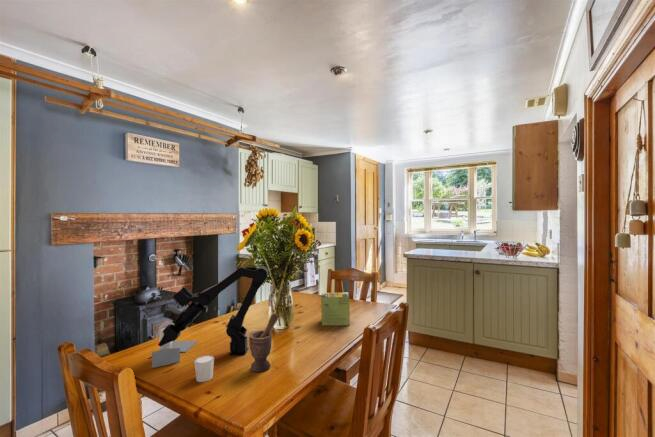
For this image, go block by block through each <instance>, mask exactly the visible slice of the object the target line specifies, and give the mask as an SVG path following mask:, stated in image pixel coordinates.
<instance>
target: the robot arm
mask: <svg viewBox="0 0 655 437" xmlns="http://www.w3.org/2000/svg"><path fill="white" fill-rule="evenodd" d="M268 276H269V270H268V268H267V267H265V266H262V265H261V266H258V267H255V266H253V267H252V266H244V265H241V266H240V267H237V269H235V271H233V272H232V273H230V274H229V275H228V276H226V277H225V278H224V279H222V280H220V281H219V282H218V283H217V284H215V285H213V286H210V287H208V288H206V289H204V290H202V291H201V292H195V293H193V292H192V291H190V290H189V288H188V287H187V286H185V285H184V286H183V287H182V288H181V289H180V290H178V291H177V292H176V293H175V294H174V295H172V297H171V298H172V300H173V301H174V302H175V303H177V305H179V306H180V307H185V309H183V310H182V311H181V310H179V309H176V308H173V307H171V306H170V307H169V306H168V307H167V308H166V309H165V310H164V312H163V315H162V317H163V318H165V319H169V320H171V324H168V325H167V326H166V327H164V328H165V329H164V330H163V333H164V336H163V338H162V339H161V341H160V340H159V343H158V344H157V345H158V346H159V347H160V346H162V345H164V344H167V343H169V342H173V341H177V339H178V338H179V337H180V336H181V332H183V331H184V330H185V329H186V328H188V326H190V324H191V323H192V322H194V320H195V319H196V318H197V317H198V316H199V315H200V314H201V313H203V314H204V315H205V314H206V313H208V311H209V309H208V307H209V305H210V304H211V303H212V302H213V301H214V300H215V298H216V297H217V296H219V294H220V293H221V292H223V291H224V290H226V288H228V287H230V286H231V285H232V284H234V283H235V282H236V281H237V280H239V279H240V278H243V277H244V278H248V279H252V280H251V284H250V287H249V289H248V291H247V293H246V294H245V296H244V299H243V301H242V303H241V305H240V307H239V309H238V311H237V313H236V314H235V315H234V314H231V316H230V318H229V321H228V322H227V324H226V326H225V328H226V330H225V331H226V335H227V336H228V337H229V338H230V342H229V355H230V356H244V355H246V354H247V352H248V351H249V350H250V347H248V336H246V335H247V332H248V329H247V328H245V326H243V325H244V321H245V318H246V315H247V312H248V311H249V308H250V307H251V304H252V303H253V300H254V299H255V296H256V295H257V292H258V290H259V289H260V287H262V285H263V284H264V283H265V281H266V280H267V278H268Z"/></svg>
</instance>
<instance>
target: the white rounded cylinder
mask: <svg viewBox="0 0 655 437" xmlns="http://www.w3.org/2000/svg"><path fill="white" fill-rule="evenodd" d="M165 328H166V327H163V328H161V329H159V330H158V334H159V342H160V341H161V339H162V338H163V336H164V333H163V330H164V329H165ZM172 342H173V341H172ZM172 342H169V343H167V344H164V345H162V346H159V350H164V349H169V348H172Z"/></svg>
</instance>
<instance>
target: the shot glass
mask: <svg viewBox="0 0 655 437" xmlns="http://www.w3.org/2000/svg"><path fill="white" fill-rule="evenodd" d="M193 362H194V370H195V371H194V372H195V379H196V382H198V383H205V382H208V381H210V380H211V379H213V377H214V365H215V364H214V363H215V357H214V356H213V355H203V356H198V357H197V358H196V359H194V361H193Z"/></svg>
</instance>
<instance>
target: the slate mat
mask: <svg viewBox="0 0 655 437" xmlns="http://www.w3.org/2000/svg"><path fill="white" fill-rule="evenodd" d="M198 342H199V341H198V340H175V341H172V348H174V347H179V346H180V354H181V353H187V352H188V351H189V350H190V349H191V348H193V347H194V346H195V345H196V344H197V343H198Z"/></svg>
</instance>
